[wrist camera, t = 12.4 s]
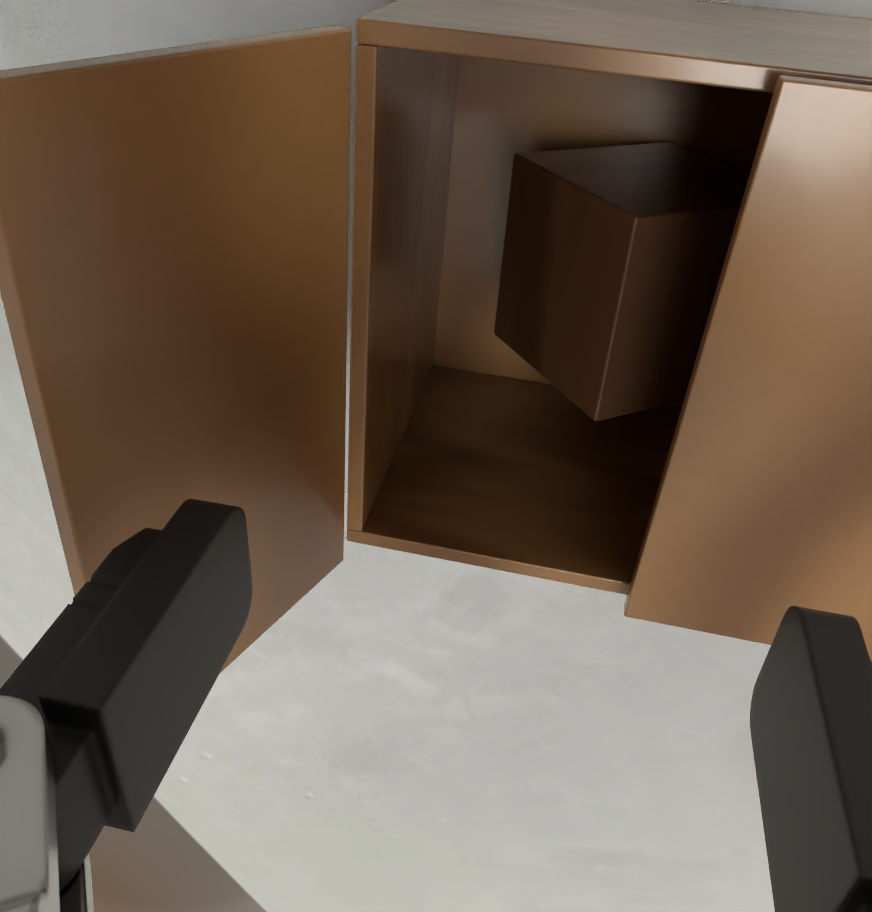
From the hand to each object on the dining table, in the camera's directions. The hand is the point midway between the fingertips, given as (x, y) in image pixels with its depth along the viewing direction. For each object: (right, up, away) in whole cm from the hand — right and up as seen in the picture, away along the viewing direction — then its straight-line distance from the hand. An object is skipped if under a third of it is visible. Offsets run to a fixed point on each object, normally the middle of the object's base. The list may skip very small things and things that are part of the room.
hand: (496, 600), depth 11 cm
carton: (+6, +9, +13) cm, 17 cm away
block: (+3, +8, +12) cm, 14 cm away
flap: (-4, +3, +3) cm, 6 cm away
